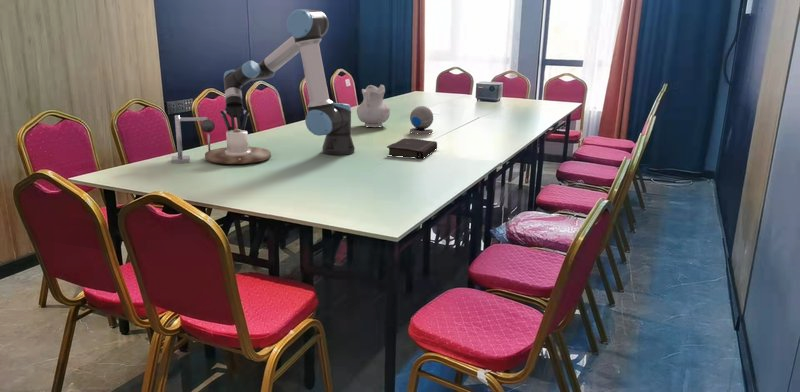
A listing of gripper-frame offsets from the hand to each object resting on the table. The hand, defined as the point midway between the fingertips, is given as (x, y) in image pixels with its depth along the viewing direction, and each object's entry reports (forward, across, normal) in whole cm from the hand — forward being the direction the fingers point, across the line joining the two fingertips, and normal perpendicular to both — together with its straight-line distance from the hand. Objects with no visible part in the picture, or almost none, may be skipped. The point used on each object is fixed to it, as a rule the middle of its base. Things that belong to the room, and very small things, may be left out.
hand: (237, 142), depth 265 cm
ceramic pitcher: (-43, -80, -52) cm, 105 cm away
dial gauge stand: (+7, +18, -2) cm, 20 cm away
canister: (+7, 0, +1) cm, 7 cm away
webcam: (-26, -102, -36) cm, 111 cm away
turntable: (+7, 0, -2) cm, 8 cm away
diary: (+9, -80, -1) cm, 81 cm away
